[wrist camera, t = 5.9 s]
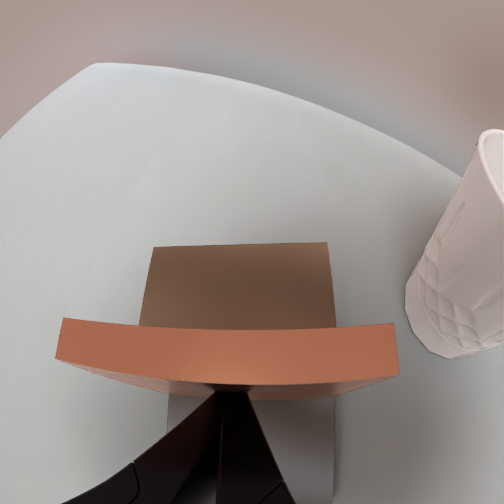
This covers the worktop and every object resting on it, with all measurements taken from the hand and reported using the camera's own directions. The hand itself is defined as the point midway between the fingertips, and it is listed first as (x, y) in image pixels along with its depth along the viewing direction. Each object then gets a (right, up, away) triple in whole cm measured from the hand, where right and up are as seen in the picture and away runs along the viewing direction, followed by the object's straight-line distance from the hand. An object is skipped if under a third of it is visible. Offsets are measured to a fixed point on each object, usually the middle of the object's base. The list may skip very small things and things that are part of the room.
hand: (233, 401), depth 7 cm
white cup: (+12, +1, +7) cm, 15 cm away
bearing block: (0, -4, +6) cm, 7 cm away
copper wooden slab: (0, -1, +6) cm, 6 cm away
